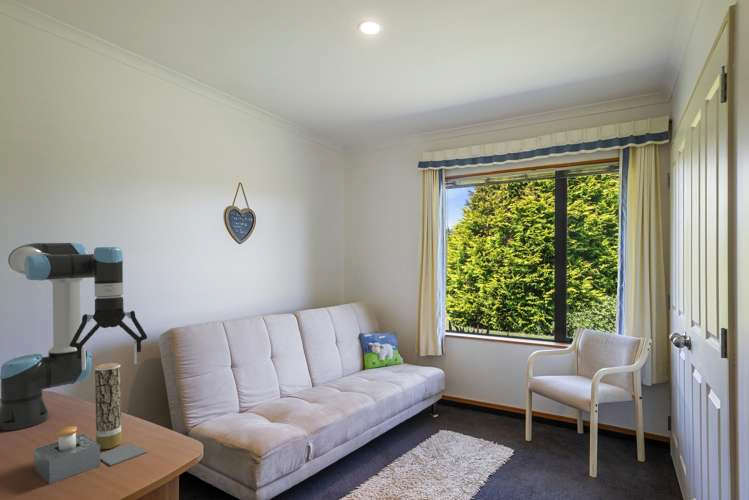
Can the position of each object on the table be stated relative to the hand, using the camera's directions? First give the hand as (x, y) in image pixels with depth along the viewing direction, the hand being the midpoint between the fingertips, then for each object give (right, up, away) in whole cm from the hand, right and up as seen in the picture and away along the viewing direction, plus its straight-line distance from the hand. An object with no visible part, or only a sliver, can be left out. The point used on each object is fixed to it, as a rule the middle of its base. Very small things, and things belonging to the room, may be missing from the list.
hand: (110, 366), depth 133 cm
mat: (+6, -25, -4) cm, 26 cm away
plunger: (-5, -22, -12) cm, 25 cm away
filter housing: (-5, -26, -12) cm, 28 cm away
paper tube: (-2, -26, +2) cm, 26 cm away
